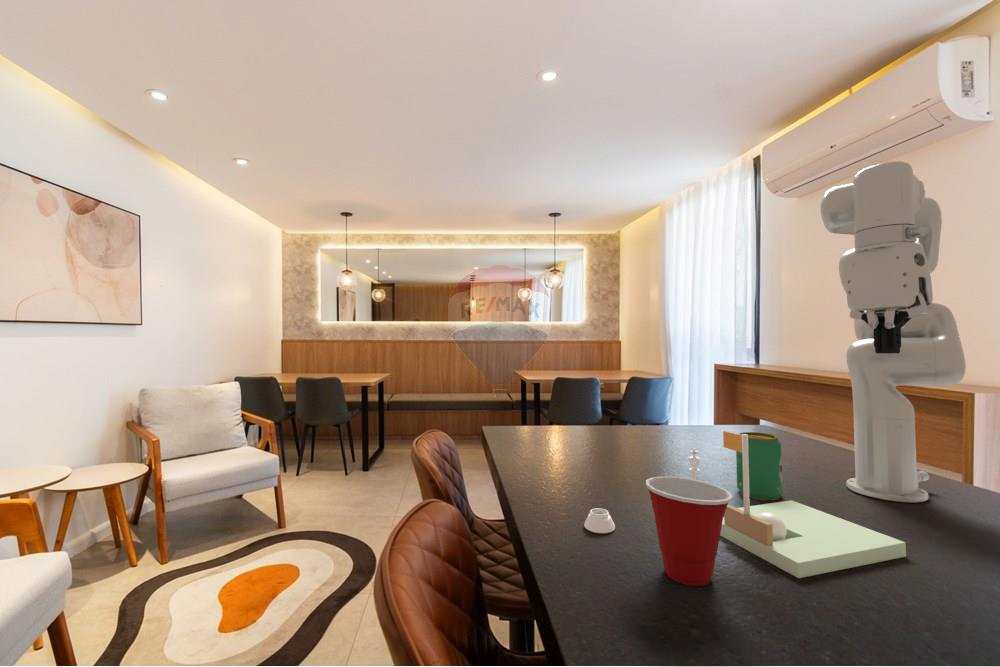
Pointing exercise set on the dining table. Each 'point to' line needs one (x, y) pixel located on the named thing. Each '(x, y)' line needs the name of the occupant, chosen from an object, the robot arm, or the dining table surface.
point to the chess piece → (694, 464)
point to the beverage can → (762, 466)
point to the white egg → (774, 525)
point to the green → (802, 532)
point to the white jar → (599, 521)
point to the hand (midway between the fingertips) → (887, 353)
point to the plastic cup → (688, 526)
